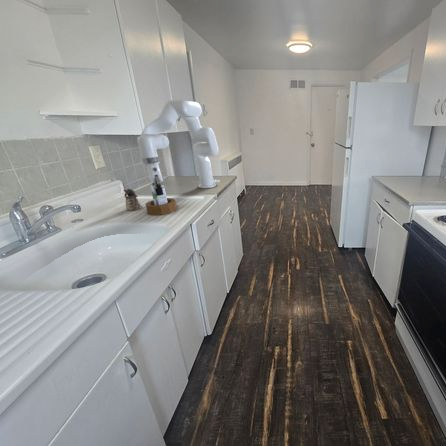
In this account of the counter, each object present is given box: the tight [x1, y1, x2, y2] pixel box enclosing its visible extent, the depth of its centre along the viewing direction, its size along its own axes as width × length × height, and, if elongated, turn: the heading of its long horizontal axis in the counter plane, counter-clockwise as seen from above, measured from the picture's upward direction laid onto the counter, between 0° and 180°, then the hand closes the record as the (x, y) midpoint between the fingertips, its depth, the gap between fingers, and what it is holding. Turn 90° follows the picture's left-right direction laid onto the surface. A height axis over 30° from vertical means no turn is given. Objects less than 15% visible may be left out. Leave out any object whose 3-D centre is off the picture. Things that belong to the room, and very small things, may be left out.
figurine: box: [123, 188, 142, 212], centre depth 144 cm, size 7×7×12 cm
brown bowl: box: [144, 197, 178, 216], centre depth 142 cm, size 15×15×5 cm
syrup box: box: [149, 184, 168, 205], centre depth 140 cm, size 6×6×14 cm
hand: (158, 193), depth 139 cm, fingers open, 6 cm apart
